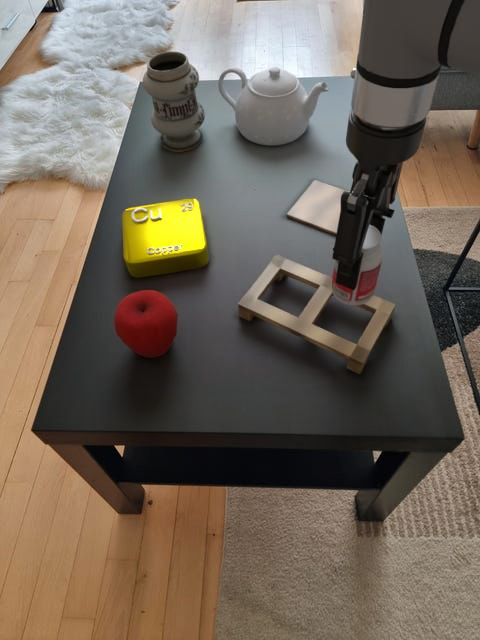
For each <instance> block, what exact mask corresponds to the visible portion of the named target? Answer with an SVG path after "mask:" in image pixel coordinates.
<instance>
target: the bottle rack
mask: <svg viewBox="0 0 480 640" xmlns="http://www.w3.org/2000/svg"><path fill="white" fill-rule="evenodd" d="M284 276H286V277H289V278H291V279H293V280H296V281H298V282H301V283H303V284H305V285H308V286H310V287H312V288H314V289H317V290H316V291H315V292H314V294H313V295H312V297H311V298H310V300H309V301H308V303H307V304H306V305H305V307H304V309H303V310H302V312H301V313H300V314H299V316H296V315H294V314H292V313H290V312H287V311H285V310H284V309H283V310H282V309H280V308H278V307H276V306H274V305H272V304H270V303H267V302H265V301H263V300H261V299H262V298H263V296H264V295H265V294H266V293H267V291H268V290H269V288H270V287H271V286H272V284H273V283H274V282H275V281H277V282H281V281H282V280H283V278H284ZM331 286H332V277H331V276H329V275H327V274H324V273H321V272H319V271H317V270H315V269H312V268H310V267H307V266H305V265H302V264H300V263H298V262H296V261H293V260H290V259H288V258H285V257H283V256H281V255H279V254H275V256H274V257H273V258H272V260H271V261H270V262H269V264H267V266H266V267H265V269H264V270H263V272H261V274H260V275H259V276H258V277H257V279H256V280H255V282H254V283H253V284H252V285H251V287H250V288H249V289H248V290H247V292H246V293H245V294H244V295H243V297H242V298H241V300H240V301H239V302H238V303H237V305H238V317H240V318H242V319H244V320H246V321H248V322H251V321H252V320H253V318H254V317H256V318H259V319H261V320H262V321H265V322H267V323H269V324H270V325H273V326H276V327H277V328H279V329H282V330H284V331H286V332H288V333H290V334H292V335H294V336H296V337H298V338H300V339H301V340H302V339H303V340H304V341H306V342H308V343H311V344H313V345H315V346H317V347H319V348H322V349H323V350H325V351H328V352H330V353H332V354H334V355H336V356H338V357H340V358H341V359H345V360H347V366H346V369H348V370H350V371H351V372H354V373H356V374H358V375H361V373H362V372H363V370H364V368H365V366H366V364H367V362H368V359H369V356H370V354H371V352H372V350H373V348H374V347H375V345H376V344H377V341H378V339H379V338H380V336H381V334H382V332H383V330H384V329H385V328H387V326H388V325H389V323H390V321H391V319H392V318H393V314H394V311H395V309H396V306H397V304H396V303H393V302H391V301H389V300H386V299H384V298H381V297H379V296H376V295H374V294H373V296H372V298H371V299H370V300H369V301H368V302H366V303H364V304H361V305H355V306H356V307H359V308H360V309H363V310H366V311H367V312H370V313H373V316H372V317H371V319H370V321H369V323H368V324H367V326H366V328H365V329H364V331H363V332H362V335H361V336H360V338H359V340H358V342H357V343H354V342H352V341H350V340H348V339H345V338H343V337H341V336H339V335H337V334H335V333H332V332H330V331H328V330H326V329H324V328H321V327H320V326H318V325H315V323H316V321H317V320H318V318H319V317H320V315H321V314H322V312H323V311H324V309H325V308H326V306H327V305H328V303H329V302H330V300H331V298H332V297H335V296H334V295H333V293H332V289H331Z"/></svg>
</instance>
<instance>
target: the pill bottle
mask: <svg viewBox="0 0 480 640" xmlns="http://www.w3.org/2000/svg"><path fill="white" fill-rule="evenodd" d="M381 244H382V236H381V233H380V231H379V230H378V229H377V228H376V227H374V226H372V225H369V227H368V231H367V234H366V237H365V240H364V244H363V247H362V250H361V252H363V258H362V262H361V267H360V272H359V277H358V281H357V286H356V288H355V290H352V289H349V288H347V287H344V286H342V285H339V284H337V283H336V276H337V270H338V263H339V261H337V260H335V259H334V262H333V270H332V277H331V278H332V286H331V289H332V293H333V295H334V296H333V295H332V296H333V297H334V298H335V299H336V300H337V301H339V302H340V303H342V304H344V305H347V306H356V305H361V304H364V303H366V302H368V301H369V300H370V299H371V298H372V296H373V295H374V294H375V290H376V286H377V283H378V279H379V274H380V271H381V267H382V262H383V258H384V250H383V248H382V245H381Z"/></svg>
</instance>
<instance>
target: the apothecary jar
mask: <svg viewBox="0 0 480 640" xmlns="http://www.w3.org/2000/svg"><path fill="white" fill-rule="evenodd" d="M146 68H147V69H146V71H145V72H144V74H143V77H142V86H143V89H144V90H145V92H146V93H147V94H148V95H149V96H150V97H151V100H152V105H153V110H152V112H151V114H150V122H151V125H152V127H153V128H154V129H155V131H156V132H158V133H159V134H161V136H160V139H161V142H160V144H161V146H162V147H163V148H164V149H165V150H168V151H171V152H174V153H175V152H176V153H181V152H187V151H190V150H192V149H195V148H196V147H198V146H199V145H200V144H201V143H202V142H203V138H204V137H203V133H202V131H201V130H200V129H199V128H201V126H202V125H203V123H204V122H205V117H206V116H205V114H206V113H205V110H204V109H205V108H204V107H203V105H201V104H200V102H199V101H198V100H197V94H196V88H197V86H198V84H199V82H200V76H199V72H198V70H197V69H196V68H195V66H193V65H192V64H191V63H190V62H189V58H188V56H187V55H186V54H185V53H183V52H181V51H172V50H170V51H161V52H159V53H156V54H155V55H152V56H151V57H150V58H149V59H148V61H147V63H146Z"/></svg>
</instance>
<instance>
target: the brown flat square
mask: <svg viewBox="0 0 480 640" xmlns="http://www.w3.org/2000/svg"><path fill="white" fill-rule="evenodd" d="M344 191H347V192H350V191H348V190H346V189H343V188H340V187H337V186H334V185H331V184H328V183H325V182H322V181H321V180H320V181H319V180H317V179H314V180H313V181H312V182H311V184H310V185H309V186H308V187H307V188H306V190H305V191H304V192H303V193H302V195H301V196H300V197H299V198H298V199H297V201H295V203H294V205H293V206H292V207H291V208H290V209H289V210H288V212H287V213H286V217H287V218H289V219H291V220H295V221H297V222H300V223H303V224H305V225H308V226H310V227H314V228H316V229H319V230H321V231H323V232H327V233H329V234H332V235H334V236H336V234H337V228H338V223H339V217H340V211H341V203H340V200H341V195H342V194H343V192H344Z"/></svg>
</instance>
